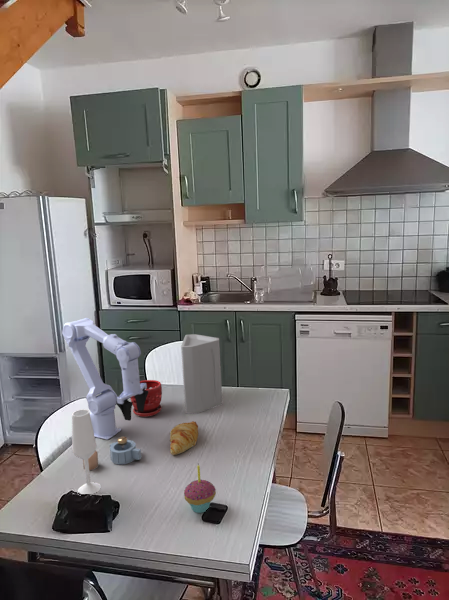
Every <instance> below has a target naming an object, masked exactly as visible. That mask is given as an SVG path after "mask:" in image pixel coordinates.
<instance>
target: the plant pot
mask: <svg viewBox="0 0 449 600" xmlns="http://www.w3.org/2000/svg"><path fill="white" fill-rule="evenodd" d="M141 383H146V385H147V389H145V390H148V395H147V397H146V401H145V406H144V411H143V412H142V411H138V409H137V404H136V400H135V397H134V396H132V397H130V398H129V399H130V402H133V404H132V407H133V410H132V412H133V414H135V415H136V416H137V417H138V416H139V417H144V418H145V417H146V418H147V417H152V416H153V417H154V416H156V415H157V414H159V413H160V412H161V411H162V409H163V408H162V405H161V402H162V395H163V388H162V383H161V381H159V380H155V379H148V380H147V379H145V380H140V384H141Z"/></svg>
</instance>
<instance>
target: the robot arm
mask: <svg viewBox="0 0 449 600" xmlns="http://www.w3.org/2000/svg"><path fill="white" fill-rule="evenodd" d="M61 333H62V336H63V338H64V341H65V342H66V344H67V347H68V348H69V350H70V353H71V355H72V356H73V359H74V360H75V362H76V364H77V366H78V369H79V370H80V373H81V374H82V377H83V379H84V380H85V384H86V385H87V387H88V390H89V391H88V393H87V394H86V397H85V398H86V399H85V400H86V401H87V407H88V410H89V413H90V417H91V422H92V427H93V431H94V436H95V438H98V439H102V440H110V439H111V438H113V437H114V436H115V435H117V434H119V432H121V431H122V428H118V427H116V425H117V423H116V415H115V409H116V406H117V407H118V408H119V409H120V411H121V413H122V416H123V418H124V420H125V421H131V419H132V407H133V405H132V404H133V402H131V401H129V399H130V397H132V396H134V397H135V400H136V404H137V409H138V411H142V412H143V411H144V406H145V401H146V397H147V395H148V390H146V389H147V385H146V383H141V384H140V381H141V379H140V371H139V370H140V369H139V359H138V358H140V357H141V355H142V351H141V348H140V346H139V345H138V344H137V343H136V342H135V341H132V342H129V341H127V340H124V339H123V338H121V337H119V336H118V335H117V334H116V333H110V334H108V333H106V332H105V331H104V330H102V329H101V328H100V327H98V326H97V325H96V324H95V322H94V320H92V319H90V318H88V317H84V318H81V319H78V320H73V321H70V322H65V323H64V325H63V328H62V332H61ZM90 338H91V339H93V340H95V341H97V342H99V343H102V346H103V348H104V349H105V350H107V351H108V352H110V353H111V354H114V355H115V357H116V359H117V361H118V363H119V366H120V369H121V376H122V387H123V391H122V392H121V393H120V394H119V395H117V393H116V392H115V391H114V389H113V388H112V386H111V385H109V384H106V383H104V382H103V380H102V377H101V376H100V373H99V371H98V369H97V367H96V364H95V362H94V360H93V359H92V356H91V354H90V353H89V351H88V350H89V349H88V348H87V346H86V344H87V342H88V341H89V340H90Z"/></svg>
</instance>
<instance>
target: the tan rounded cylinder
mask: <svg viewBox="0 0 449 600" xmlns="http://www.w3.org/2000/svg"><path fill="white" fill-rule="evenodd" d="M82 464H83V470H85V466H84V460H82ZM88 464H89V471H93V470H95V468H96V469H97V468H98V467H99V455H98V451H97V450H95V452H94V454H93V455H92V456H91V457H90V458H89V459H88Z"/></svg>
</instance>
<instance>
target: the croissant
mask: <svg viewBox="0 0 449 600" xmlns="http://www.w3.org/2000/svg"><path fill="white" fill-rule="evenodd" d="M169 435H170V436H169V442H170V444H169V445H170V449H169V451H170V455H172V456H177V455H179V454H182V453H184V452H187V450H189V449H191V448H193V447H195V445H197V441H198V438H199V425H198V423H197V421H194V420H193V421H190V422H183V423H179V424H177V425H175V426H174V427H173V428H172V429H171V431H170V432H169Z"/></svg>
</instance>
